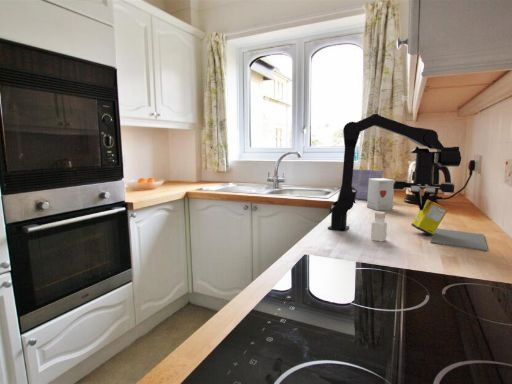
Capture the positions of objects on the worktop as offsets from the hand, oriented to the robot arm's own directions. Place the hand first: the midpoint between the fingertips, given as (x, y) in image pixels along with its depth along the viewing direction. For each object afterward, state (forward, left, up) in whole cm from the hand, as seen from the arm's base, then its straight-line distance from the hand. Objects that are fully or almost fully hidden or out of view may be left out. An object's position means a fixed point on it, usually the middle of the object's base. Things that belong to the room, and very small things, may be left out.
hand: (421, 210), depth 112 cm
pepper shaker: (-16, +11, -9) cm, 21 cm away
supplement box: (0, 0, -8) cm, 8 cm away
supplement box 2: (+40, +22, -9) cm, 46 cm away
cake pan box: (+64, +35, -9) cm, 73 cm away
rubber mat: (0, -12, -9) cm, 15 cm away
